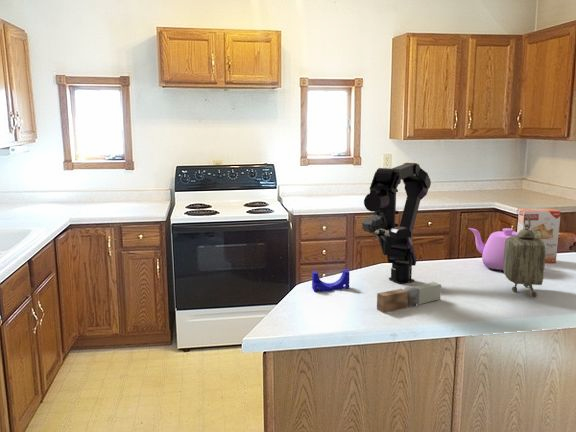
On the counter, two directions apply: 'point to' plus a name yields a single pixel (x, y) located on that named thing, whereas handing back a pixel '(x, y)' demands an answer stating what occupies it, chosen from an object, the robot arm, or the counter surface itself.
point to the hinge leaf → (424, 292)
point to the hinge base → (394, 300)
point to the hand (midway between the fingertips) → (385, 254)
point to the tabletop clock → (524, 259)
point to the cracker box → (543, 228)
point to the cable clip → (324, 287)
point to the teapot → (493, 247)
